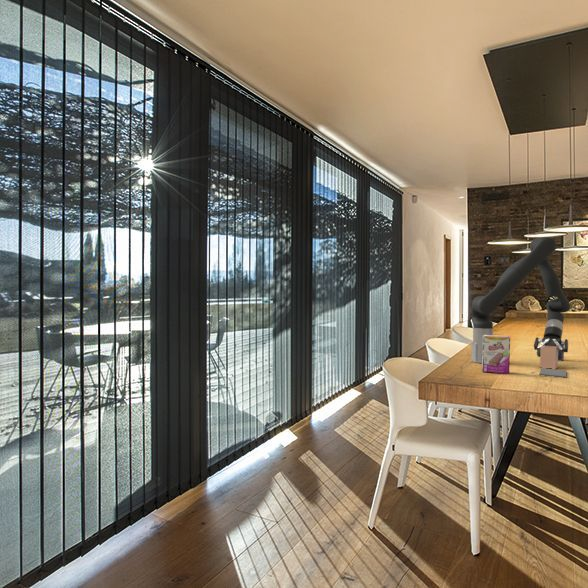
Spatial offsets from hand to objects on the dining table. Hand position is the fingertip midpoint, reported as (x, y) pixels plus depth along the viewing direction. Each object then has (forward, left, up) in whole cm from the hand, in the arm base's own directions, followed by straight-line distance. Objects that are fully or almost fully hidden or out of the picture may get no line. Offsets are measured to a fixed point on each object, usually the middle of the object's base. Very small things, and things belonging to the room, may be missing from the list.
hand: (549, 356), depth 225 cm
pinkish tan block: (0, 0, -5) cm, 5 cm away
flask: (+14, +24, -5) cm, 29 cm away
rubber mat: (-6, -16, -5) cm, 17 cm away
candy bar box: (-30, -14, -5) cm, 33 cm away
